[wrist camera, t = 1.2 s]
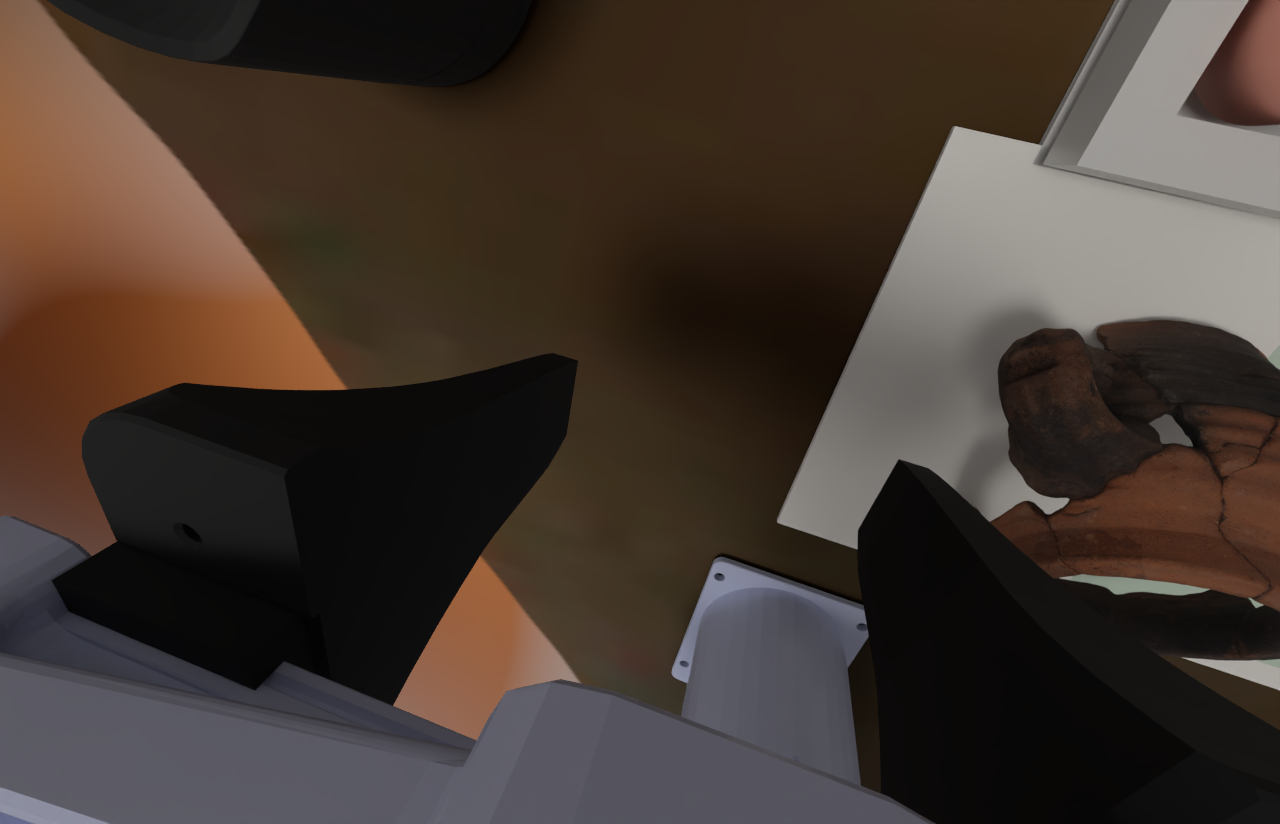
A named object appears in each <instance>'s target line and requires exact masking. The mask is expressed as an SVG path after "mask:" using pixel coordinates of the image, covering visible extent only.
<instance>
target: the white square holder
mask: <svg viewBox="0 0 1280 824" xmlns="http://www.w3.org/2000/svg"><path fill="white" fill-rule="evenodd" d="M1248 1H1249V0H1115V1H1114V3H1113V5H1112V7H1111V9H1110V11H1109V12H1108V14H1107V16H1106V18H1105V20H1104V22H1103V24H1102V26H1101V28H1100V29H1099V31H1098V33H1097V35H1096V37H1095V39H1094V41H1093V43H1092V45H1091V46H1090V48H1089V50H1088V52H1087V54H1086V56H1085V58H1084V60H1083V62H1082V63H1081V65H1080V67H1079V69H1078V71H1077V73H1076V75H1075V77H1074V79H1073V80H1072V82H1071V84H1070V86H1069V88H1068V90H1067V92H1066V94H1065V96H1064V97H1063V99H1062V101H1061V103H1060V105H1059V107H1058V109H1057V111H1056V113H1055V114H1054V116H1053V118H1052V120H1051V122H1050V124H1049V126H1048V128H1047V130H1046V131H1045V133H1044V135H1043V137H1042V139H1041V141H1040V143H1039V145H1042V148H1041V149H1040V151H1041V150H1044V151H1041V154H1039V153H1040V151H1039V153H1038V155H1037V156H1036V158H1037V157H1039V156H1040V157H1041V158H1037V159H1038V160H1037V159H1035V160H1034V162H1033V164H1034V165H1035V164H1036V163H1037V161H1038V163H1037V165H1038V166H1043V167H1047V166H1048V167H1047V168H1052V169H1054V167H1055V169H1056V170H1060V169H1061V171H1065V172H1069V171H1070V173H1076V172H1077V173H1076V174H1079V173H1080V175H1082V174H1086V175H1087V177H1091V178H1094V176H1096V178H1097V179H1100V178H1102V180H1104V181H1107V180H1109V182H1111V180H1112V181H1114V182H1113V183H1116V182H1117V183H1119V182H1121V183H1122V184H1123V183H1125V184H1126V186H1127V184H1128V185H1129V184H1131V185H1132V186H1134V185H1135V186H1136V187H1135V186H1134V187H1135V188H1138V187H1139V186H1140V187H1142V188H1143V189H1144V188H1145V189H1146V188H1148V189H1150V190H1152V189H1153V190H1154V192H1155V190H1157V191H1158V192H1159V191H1161V192H1166V194H1167V193H1170V194H1173V195H1174V194H1175V195H1179V196H1182V197H1183V196H1184V197H1185V198H1190V199H1191V198H1192V199H1197V201H1200V200H1201V202H1202V201H1206V202H1207V203H1208V202H1210V203H1214V204H1219V205H1222V206H1224V207H1225V206H1228V207H1230V208H1235V209H1241V210H1242V211H1243V210H1245V211H1250V212H1254V213H1258V214H1263V215H1267V216H1272V217H1276V218H1280V125H1266V126H1241V125H1234V124H1231V123H1228V122H1225V121H1222V120H1220V119H1218V118H1216V117H1215V116H1214V115H1212V114H1211V113H1210V112H1209V111H1208V110H1207V109H1206V108H1205V107H1204V106H1203V104H1202V103H1201V101H1200V99H1199V97H1198V94H1197V92H1196V88H1195V84H1196V83H1197V81H1198V80H1199V78H1200V77H1201V75H1202V73H1203V72H1204V70H1205V69H1206V67H1207V65H1208V64H1209V62H1210V61H1211V59H1212V58H1213V56H1214V54H1215V53H1216V51H1217V50H1218V48H1219V46H1220V45H1221V43H1222V42H1223V40H1224V39H1225V37H1226V35H1227V34H1228V32H1229V31H1230V29H1231V27H1232V26H1233V24H1234V23H1235V21H1236V20H1237V18H1238V16H1239V15H1240V13H1241V12H1242V10H1243V9H1244V7H1245V5H1246V4H1247V2H1248ZM1047 151H1048V152H1047ZM1043 152H1045V153H1043ZM1042 153H1043V154H1042ZM1044 154H1045V155H1044ZM1042 156H1043V157H1045V158H1043V157H1042ZM1042 160H1043V161H1042ZM1039 161H1040V162H1039ZM1041 162H1042V163H1041ZM1044 165H1046V166H1044ZM1064 169H1065V170H1064ZM1071 171H1073V172H1071ZM1086 175H1085V176H1086ZM1089 175H1090V176H1089ZM1083 176H1084V175H1083ZM1106 179H1107V180H1106ZM1100 180H1101V179H1100ZM1115 181H1116V182H1115ZM1119 184H1120V183H1119ZM1123 185H1124V184H1123ZM1131 185H1129V186H1131ZM1132 186H1131V187H1132ZM1137 186H1138V187H1137ZM1142 188H1140V189H1142ZM1157 191H1156V192H1157ZM1161 192H1160V193H1161ZM1170 194H1168V195H1170ZM1173 195H1172V196H1173ZM1179 196H1178V197H1179ZM1175 197H1177V196H1175ZM1180 198H1181V197H1180ZM1207 203H1206V204H1207ZM1211 205H1212V204H1211ZM1215 206H1216V205H1215ZM1219 207H1220V206H1219ZM1224 207H1223V208H1224ZM1228 209H1229V208H1228ZM1236 211H1237V210H1236ZM1247 213H1248V212H1247ZM1251 214H1252V213H1251ZM1258 214H1257V215H1258ZM1267 218H1268V217H1267Z"/></svg>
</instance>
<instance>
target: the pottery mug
mask: <svg viewBox="0 0 1280 824" xmlns="http://www.w3.org/2000/svg"><path fill="white" fill-rule="evenodd" d="M1096 335H1097V339H1098V340H1099V341H1100V342H1101V343H1102V344H1103V345H1104V349H1101V348H1095V347H1092V346H1090V345H1088V344H1086V343H1085V341H1084V339H1083V338H1082V336H1081V335H1080V334H1079V333H1078V332H1077V331H1076V330H1074V329H1070V328H1065V329H1053V328H1042V329H1039V330H1037V331H1035V332H1033V333H1031V334H1030V335H1028V336H1025V337H1023V338H1020V339H1018V340H1016V341H1015V342H1013V343H1012V345H1011V346H1010V347H1009V348H1008V350H1007V351H1006V352H1005V353H1004V354H1003V356H1002V357H1001V359H1000V361H999V366H998V372H997V373H998V386H999V396H1000V401H1001V405H1002V409H1003V412H1004V415H1005V417H1006V420H1007V422H1008V424H1009V427H1008V438H1009V446H1010V447H1009V451H1008V455H1009V459H1010V462H1011V463H1012V464H1013V466H1014V467H1015V468H1016V469H1017V470H1018V472H1019V473H1020V474H1021V476H1022V477H1023V479H1024V481H1025V482H1026V484H1027V486H1029V487H1030V488H1031V489H1033V490H1034V491H1035V492H1037V493H1038V494H1040V495H1043V496H1047V497H1051V498H1069V501H1068V503H1067V504H1066V505H1065V506H1064V507H1063V508H1060V509H1059V510H1057V511H1055V512H1053V513H1052V514H1046V513H1044V511H1043V510H1042V509H1041V508H1040V507H1038V506H1037V505H1036V504H1035V503H1034V502H1031V501H1023V502H1020V503H1018V504H1016V505H1015V506H1014V507H1013V508H1012V509H1010V510H1008V511H1007V512H1005V513H1004V514H1002V515H1001V516H999V517H997V518H995V519H994V520H992V521H990V523H991V524H992V525H993V526H994V527H995V528H996V529H998V530H999V531H1000V532H1001V533H1002V534H1003V535H1004V536H1005V537H1006V538H1007V539H1009V540H1010V541H1011V542H1012V543H1013V544H1014V545H1015V546H1016V547H1017V548H1019V549H1020V550H1021V551H1022V552H1023V553H1024V554H1025V555H1027V556H1028V557H1029V558H1030V559H1031V560H1032V561H1034V562H1035V563H1036V564H1037V565H1038V566H1039V567H1041V568H1042V569H1043V570H1044V571H1045V572H1047V573H1048V574H1049V575H1050V576H1051V577H1052V578H1054V579H1055V580H1056V581H1057V582H1059V583H1060V584H1061V585H1062V586H1064V587H1065V588H1066V589H1067V590H1069V591H1070V592H1071V593H1072V594H1074V595H1075V596H1076V597H1078V598H1079V599H1080V600H1082V601H1083V602H1084V603H1086V604H1087V605H1088V606H1090V607H1091V608H1092V609H1094V610H1095V611H1096V612H1098V613H1099V614H1100V615H1102V616H1103V617H1104V618H1106V619H1107V620H1108V621H1110V622H1111V623H1112V624H1114V625H1115V626H1116V627H1118V628H1119V629H1121V630H1122V631H1124V632H1125V633H1126V634H1128V635H1129V636H1131V637H1132V638H1134V639H1135V640H1136V641H1138V642H1139V643H1141V644H1142V645H1144V646H1145V647H1147V648H1148V649H1150V650H1151V651H1153V652H1154V653H1156V654H1160V655H1166V656H1174V657H1182V658H1195V659H1208V660H1223V661H1230V660H1232V661H1251V660H1275V659H1280V370H1279V369H1278V368H1276V367H1275V366H1274V365H1273V364H1272V363H1271V362H1270V361H1269V360H1268V359H1267V357H1266V356H1265V355H1264V354H1263V353H1262V352H1261V351H1260V350H1259V349H1257V348H1256V347H1255V346H1254V345H1253V344H1252V343H1250V342H1249V341H1247V340H1245V339H1243V338H1241V337H1239V336H1237V335H1234V334H1231V333H1229V332H1226V331H1224V330H1222V329H1219V328H1215V327H1209V326H1203V325H1198V324H1193V323H1189V322H1183V321H1171V320H1152V321H1145V322H1142V321H1135V322H1124V323H1115V324H1109V325H1103V326H1100V327H1099V328H1098V329H1097V332H1096ZM1165 414H1167V415H1170V416H1172V417H1173V419H1174V420H1175V422H1176V423H1177V424H1178V425H1179V426H1180V427H1181V428H1182V430H1183V432H1184V434H1185V435H1186V436H1187V437H1189V439H1190V440H1191V442H1192V444H1193V447H1191V446H1185V445H1182V444H1177V443H1169V444H1162V443H1161V441H1160V435H1159V433H1158V431H1157V430H1156V429H1155V428H1154V427H1152V426H1151V425H1150V424H1149V423H1151V422H1152V421H1154V420H1155V419H1158V418H1161V417H1162V416H1163V415H1165ZM974 508H975V507H974ZM975 509H976V510H977V511H978V512H979V513H980V511H979V510H978V509H977V508H975ZM980 514H981V513H980ZM981 515H982V514H981ZM1081 574H1085V575H1092V576H1104V577H1124V578H1133V579H1143V580H1151V581H1160V582H1169V583H1176V584H1182V585H1189V586H1194V587H1199V588H1204V589H1210V590H1207V591H1205V592H1201V593H1193V594H1187V595H1170V594H1158V593H1152V592H1129V593H1125V594H1114V593H1113V592H1111V591H1110V590H1109V589H1108V588H1106V587H1103V586H1099V585H1096V584H1091V583H1086V582H1079V581H1072V580H1066V579H1061V578H1062V577H1068V576H1077V575H1081ZM1249 598H1251V599H1253V600H1254V601H1256V602H1258V603H1260V604H1263V606H1260V607H1258V608H1256V607H1255V606H1254V605H1253V604H1252V602H1251V600H1250V599H1249Z"/></svg>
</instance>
